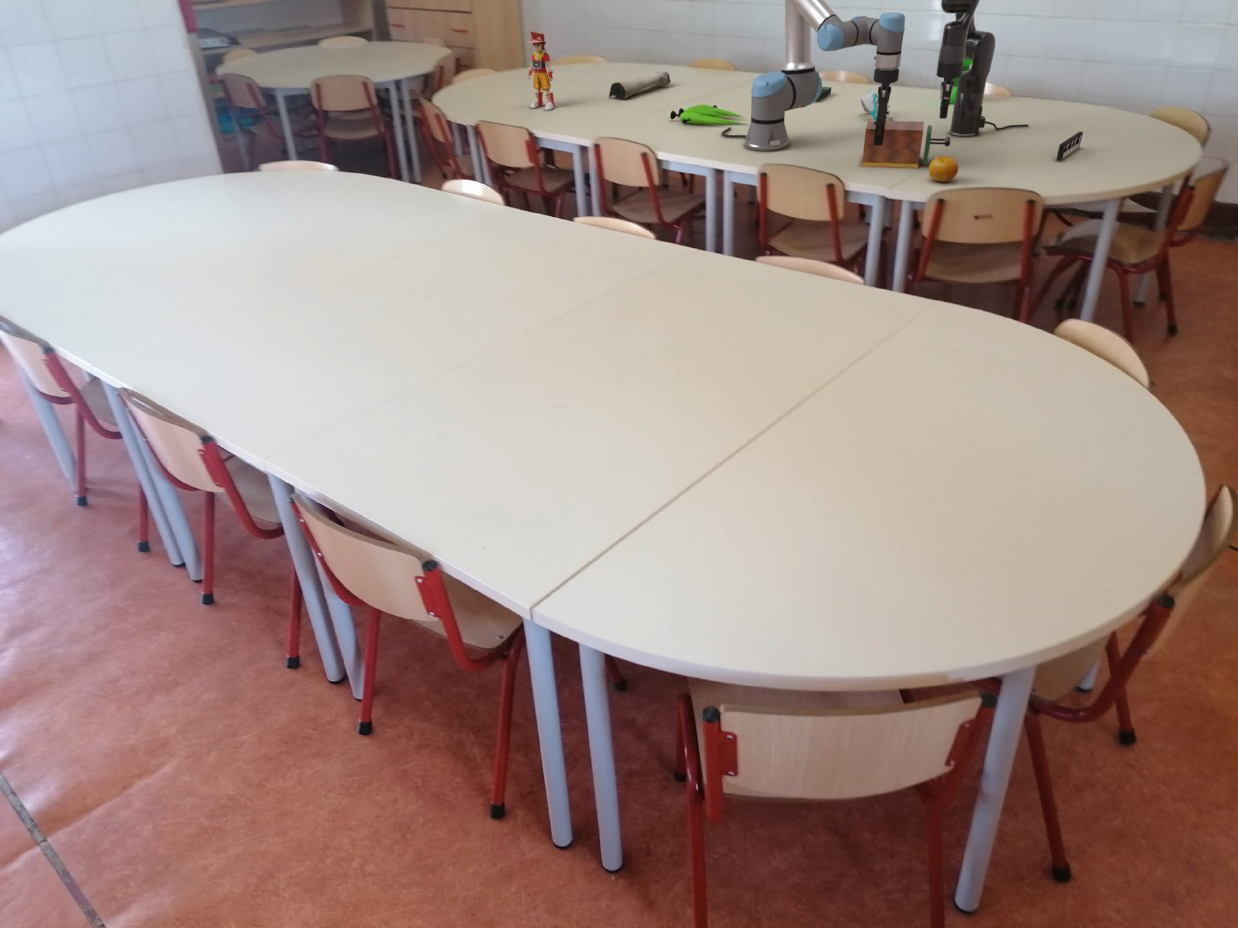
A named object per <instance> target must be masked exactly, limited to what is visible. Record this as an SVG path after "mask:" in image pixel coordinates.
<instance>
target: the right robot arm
mask: <svg viewBox="0 0 1238 928" xmlns="http://www.w3.org/2000/svg"><path fill="white" fill-rule="evenodd" d="M940 1H941V2H940V7H941V10H942V11H943V12H944V13H945V14H954V15H955V20H952V21H949V22H946V23H945V25H944V27H943V32H942V40H941V45H940V49H939V54H938V61H937V67H936V77H937V78H942V79H943V81H941V82H940V97H939V99H940V105H939V119H944V120H946V119H947V118H948V113H949V106H950V105H951V103H950V99H951V98H952V93H953V90H954V82H952V80H953V78H958V83H957V90H956V96H955V103H953V110H952V115H951V124H950V129H949V134H950V135H952V136H956V137H973V136H979V131H980V129H984V128H985V126H986V125H991V126H993V128H994V129H995V130H996V131H1001V130H1006V129H1009V128H1023V127H1024V128H1025V127H1029V126H1030V125H1029V124H1027V123H1025V124H1009V125H1006V126H1002V127H997V125H996V124H995V123H993V122H991V121H986V120H987V119H986V117H985V115H983V109H984V107H983V102H984V96H985V90H986V83H987V79H988V76H989V74H990V73H991V72H990V71H991V69H992V63H993V59H994V54H995V49H996V37H995V35H994V33H993V32H990V31H984V30H977V28H976V24H975V13H976V9H978V5H979V3H980V2H981V0H940ZM964 59H966V60H972V61H973V63H972V64H971V65H970V68H969V70H967V71H963V65H964ZM962 71H963V72H962ZM985 124H986V125H985Z"/></svg>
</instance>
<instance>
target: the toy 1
mask: <svg viewBox="0 0 1238 928" xmlns="http://www.w3.org/2000/svg"><path fill="white" fill-rule="evenodd" d="M529 33H530V35H531V36H528V37H527V38H528V39H529V40H528V41H527V43H529V44H530V43H531V44H532V48H533V50H534V51H533V52H532V55H531V58H530V59H531V63H530V66H528V74H527V75H528V76H527V77H528V79H529V80H531V75H532V74H533V84H532V85H533V86H532V87H533V88H534V89H535V90H536V92H534V95H535V97H536V100H535V101H533V102H531V105H530V108H531V109H535V108H538V107H542V106H544V101H543V100H544V99H543V95H544V92H546V94H545V97H546V99H547V103H546V104H545V106H544V110H546V111H549V110H553V109H554V107H555V106H556V105H555V99H554V92H551V91H550V90H551V86H552V84H551V82H552V81H553V80H554V77H553V73H554V71H555V70H554V69H552V68H551V63H550V61H551V59H550V58H551V57H550V54H549V53H548V52H547V50H546V48H545V46H546V44H547V41H545V35H544V33H543V32H542V33H539V32H535V31H529Z"/></svg>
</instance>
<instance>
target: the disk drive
mask: <svg viewBox="0 0 1238 928" xmlns="http://www.w3.org/2000/svg"><path fill="white" fill-rule="evenodd" d="M831 93H832V87H830V86H822V90H821V93H820V96H819V98H818V99H817V100H816V101H815V102H819V101H821V100H823V99H824V98H826V97H828V96H829V95H831Z"/></svg>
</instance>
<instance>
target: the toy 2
mask: <svg viewBox="0 0 1238 928" xmlns="http://www.w3.org/2000/svg"><path fill="white" fill-rule="evenodd" d="M669 116H670V117H669V118H670V120H674V119H675V118H676V117H679V120H680V121H681V124H683V125H685V124H695V125H697V124H705V125H706V124H707V125H746V123H744V122H741V121H740V122H739V121H735V120H730V119H724V118H723V117H734V118H744V116H742V115H741V114H739V113H735V112H733V111H730V110H726V109H722V108H718V106H717V105H715V104H714V105H713V106H711V105H709V104H696V105H694V106H690V107H688V108H686V109H684V108H682V107H680V108H679V109H678V113H676V111H675V110H671V112H670V115H669Z"/></svg>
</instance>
